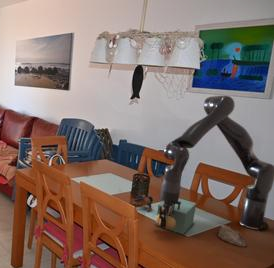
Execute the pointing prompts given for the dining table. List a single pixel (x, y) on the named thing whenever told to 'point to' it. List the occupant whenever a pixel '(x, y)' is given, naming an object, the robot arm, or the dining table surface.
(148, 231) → the dining table surface
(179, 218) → the bin
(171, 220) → the potato
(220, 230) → the oyster shell
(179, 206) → the bin lid
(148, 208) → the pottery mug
